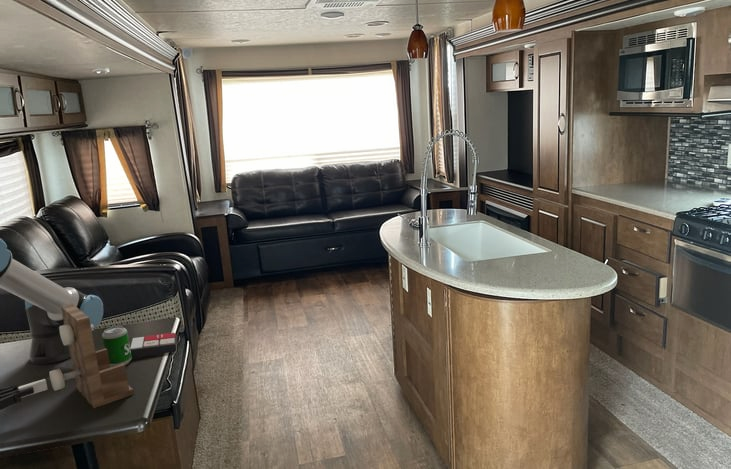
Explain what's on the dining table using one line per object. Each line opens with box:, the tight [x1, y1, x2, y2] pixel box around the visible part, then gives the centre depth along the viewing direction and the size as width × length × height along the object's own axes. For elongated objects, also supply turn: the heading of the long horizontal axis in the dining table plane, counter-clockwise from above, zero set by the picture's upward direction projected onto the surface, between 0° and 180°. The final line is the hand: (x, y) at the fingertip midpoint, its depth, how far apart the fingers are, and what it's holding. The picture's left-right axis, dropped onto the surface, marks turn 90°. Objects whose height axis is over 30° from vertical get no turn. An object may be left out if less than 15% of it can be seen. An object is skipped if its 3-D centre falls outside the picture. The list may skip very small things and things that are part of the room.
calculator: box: [129, 332, 178, 360], centre depth 198 cm, size 11×4×15 cm
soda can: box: [101, 325, 133, 367], centre depth 187 cm, size 8×8×12 cm
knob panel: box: [61, 304, 134, 409], centre depth 166 cm, size 18×11×26 cm, turn 40°
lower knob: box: [49, 368, 82, 392], centre depth 162 cm, size 6×8×6 cm
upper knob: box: [59, 324, 95, 345], centre depth 162 cm, size 6×8×6 cm
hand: (46, 384), depth 158 cm, fingers closed
